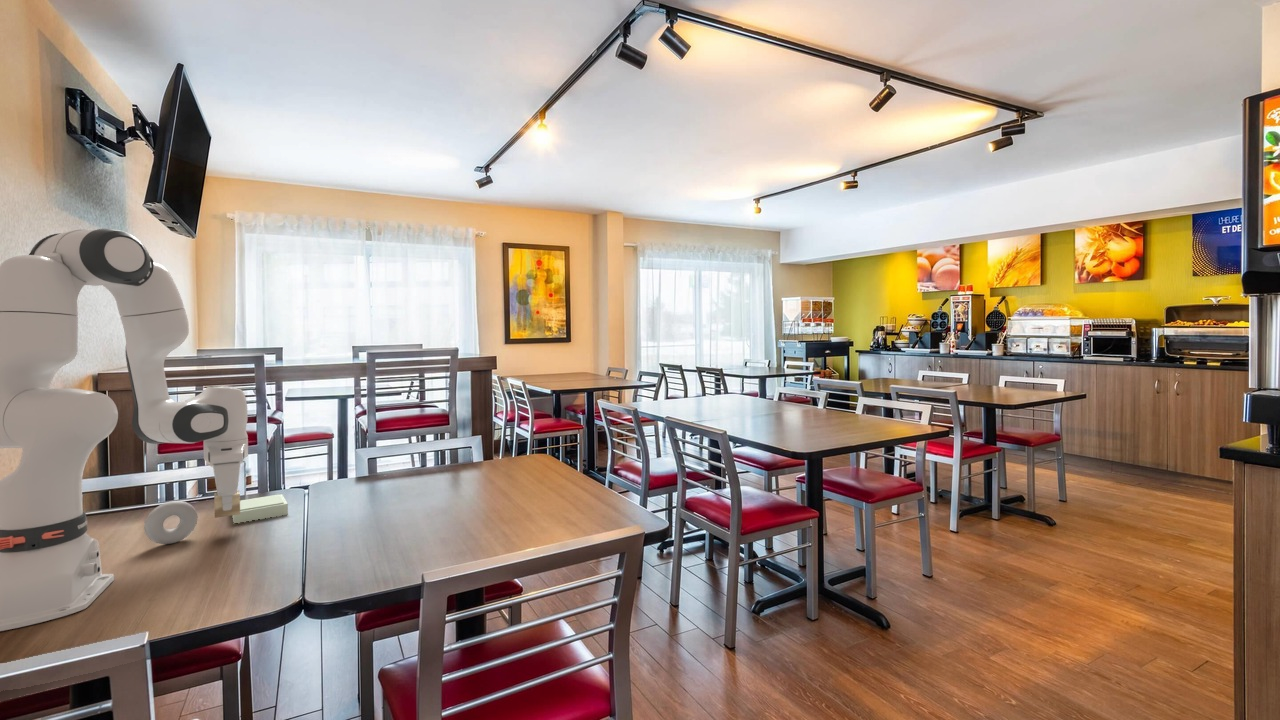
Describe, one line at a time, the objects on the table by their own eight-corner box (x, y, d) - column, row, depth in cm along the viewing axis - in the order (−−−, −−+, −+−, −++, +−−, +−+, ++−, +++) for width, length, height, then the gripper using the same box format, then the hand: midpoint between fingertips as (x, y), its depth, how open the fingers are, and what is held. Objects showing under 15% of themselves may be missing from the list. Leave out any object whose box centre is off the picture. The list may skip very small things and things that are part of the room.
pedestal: (288, 514, 152) (287, 502, 152) (233, 524, 145) (233, 511, 145) (282, 504, 162) (282, 493, 161) (231, 513, 154) (230, 501, 154)
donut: (148, 551, 127) (145, 508, 126) (142, 548, 129) (140, 505, 128) (201, 538, 135) (199, 497, 135) (195, 535, 137) (193, 495, 136)
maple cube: (240, 514, 138) (239, 493, 138) (214, 517, 135) (214, 497, 134) (239, 509, 142) (239, 490, 142) (214, 513, 138) (214, 493, 138)
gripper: (210, 447, 144) (211, 501, 144) (209, 458, 128) (210, 518, 128) (240, 444, 148) (241, 497, 148) (243, 454, 132) (244, 513, 132)
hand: (227, 507), depth 138 cm, fingers closed on maple cube, 5 cm apart
